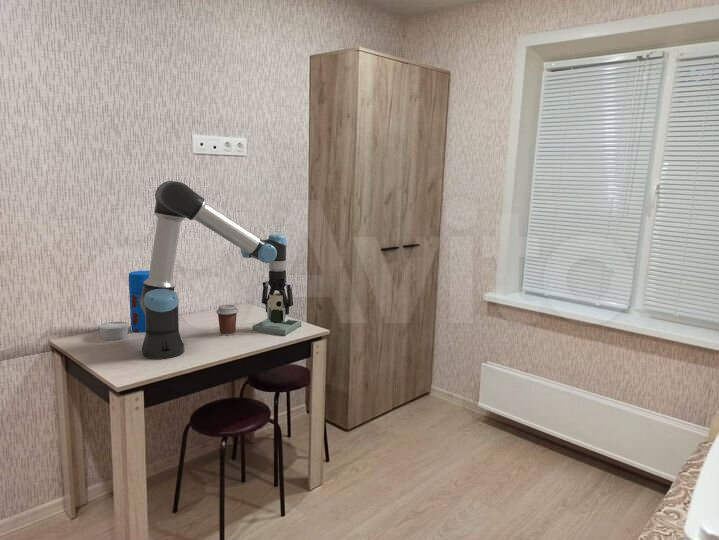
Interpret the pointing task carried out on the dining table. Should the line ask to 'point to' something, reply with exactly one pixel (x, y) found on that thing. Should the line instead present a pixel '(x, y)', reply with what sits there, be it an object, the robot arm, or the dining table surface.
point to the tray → (276, 327)
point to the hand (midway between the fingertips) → (277, 320)
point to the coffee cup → (227, 319)
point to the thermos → (137, 300)
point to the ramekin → (114, 330)
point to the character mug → (276, 307)
